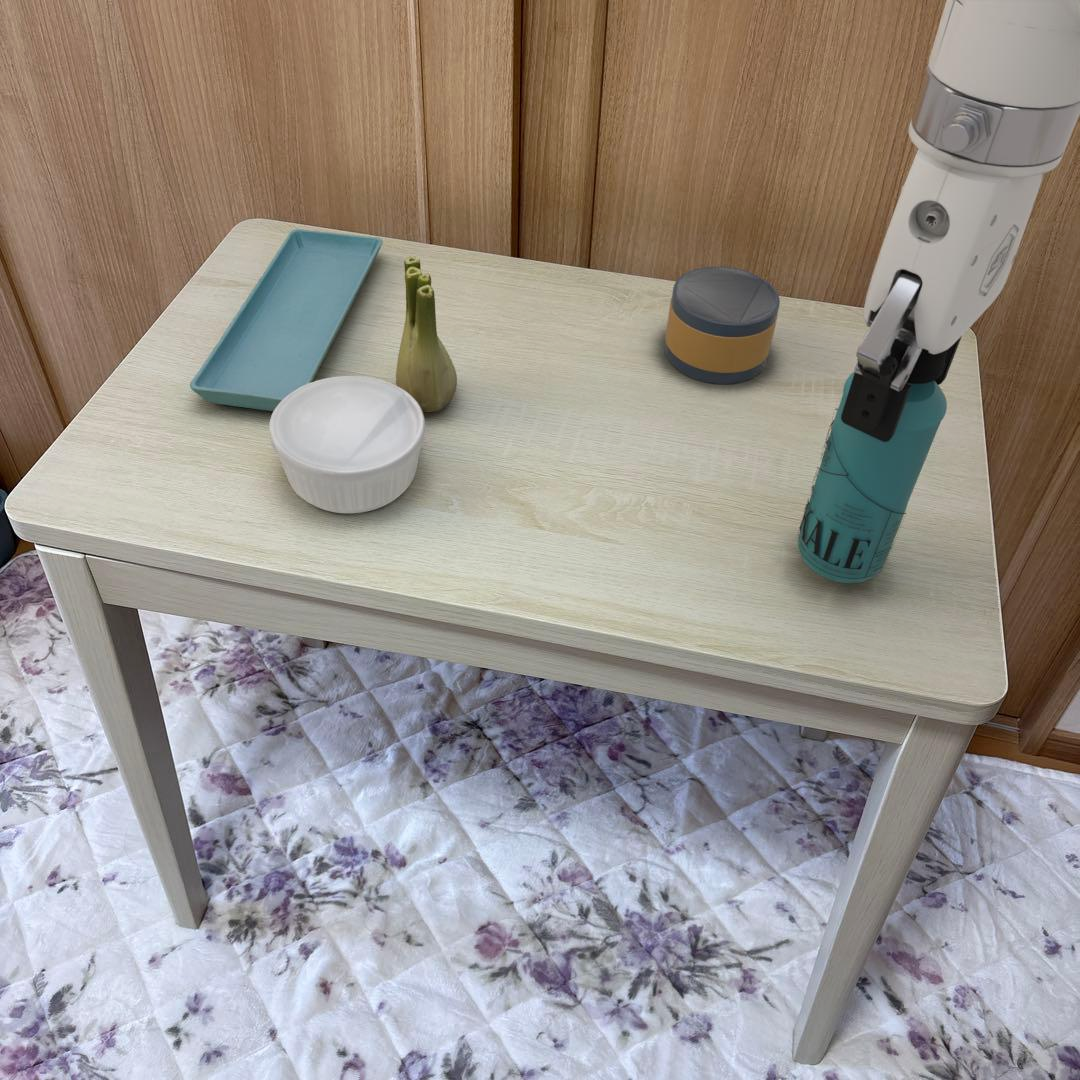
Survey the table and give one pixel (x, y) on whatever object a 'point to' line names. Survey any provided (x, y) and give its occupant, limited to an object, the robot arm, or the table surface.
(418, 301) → the fennel bulb
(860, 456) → the beverage bottle
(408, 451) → the ramekin
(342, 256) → the shallow long dish
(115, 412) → the table surface
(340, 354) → the table surface
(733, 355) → the tin can
